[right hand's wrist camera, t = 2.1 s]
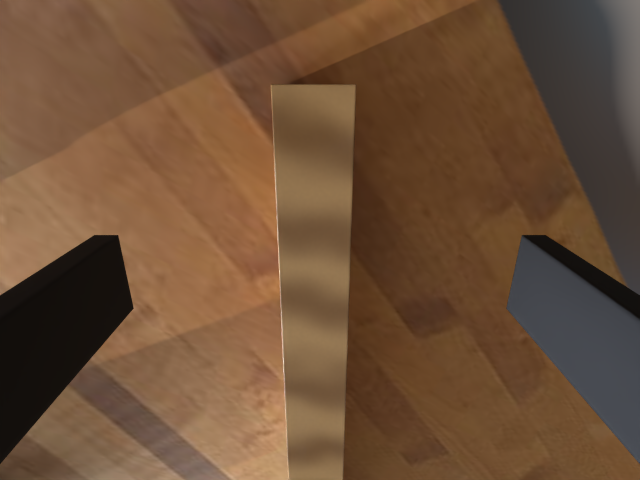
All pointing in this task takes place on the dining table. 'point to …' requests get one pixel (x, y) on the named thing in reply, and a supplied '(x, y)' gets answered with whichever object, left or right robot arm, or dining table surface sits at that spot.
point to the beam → (314, 267)
